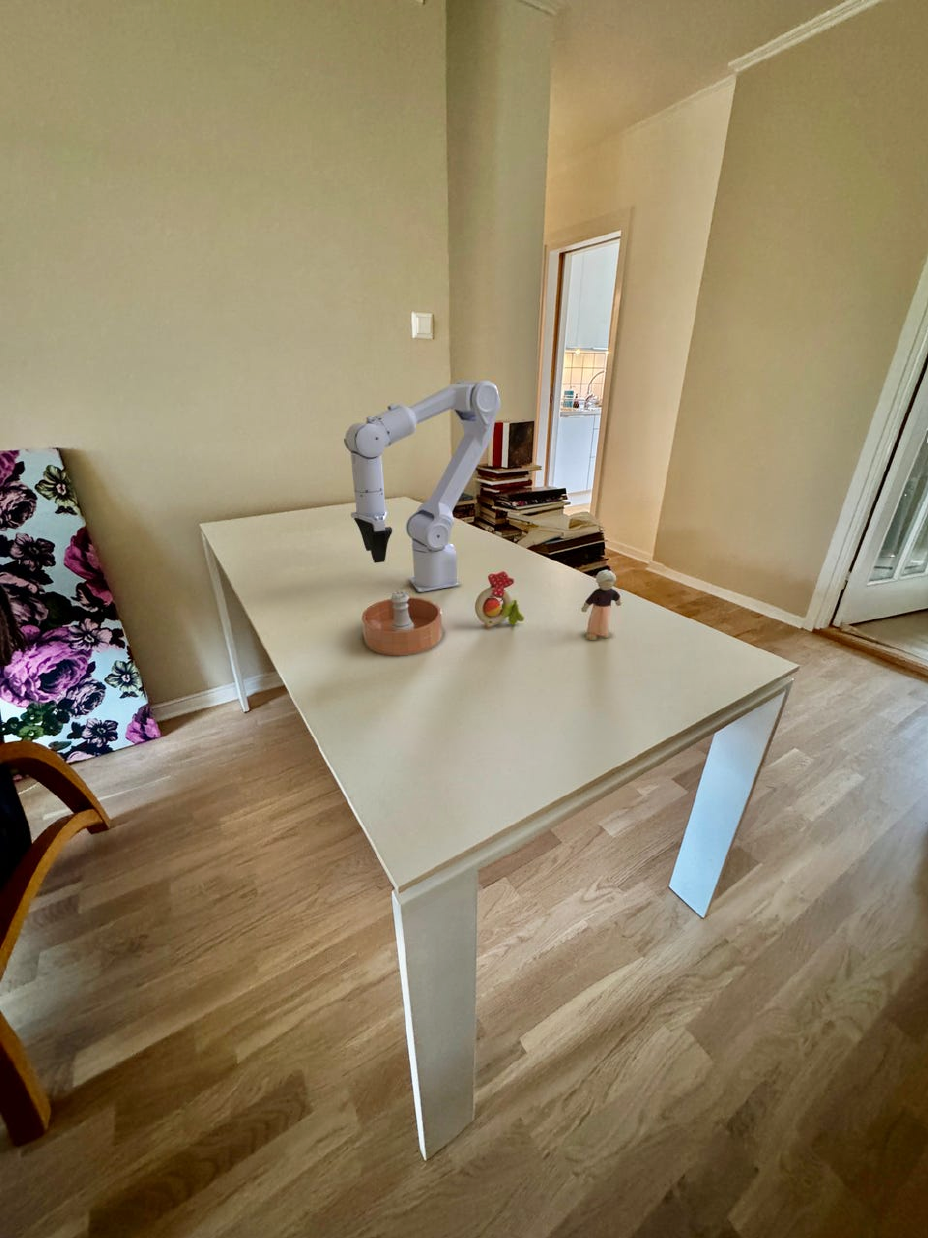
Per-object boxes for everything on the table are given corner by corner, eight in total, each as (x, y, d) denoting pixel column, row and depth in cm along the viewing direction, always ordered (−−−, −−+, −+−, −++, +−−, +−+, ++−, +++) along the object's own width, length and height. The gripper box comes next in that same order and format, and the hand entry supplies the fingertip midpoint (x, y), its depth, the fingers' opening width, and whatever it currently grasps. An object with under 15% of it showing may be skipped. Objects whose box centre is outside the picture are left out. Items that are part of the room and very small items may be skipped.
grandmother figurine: (589, 644, 84) (597, 578, 79) (575, 635, 87) (582, 570, 82) (622, 634, 88) (632, 569, 82) (607, 625, 91) (616, 562, 85)
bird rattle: (496, 644, 89) (535, 617, 91) (474, 599, 83) (516, 571, 85) (481, 629, 94) (517, 604, 96) (459, 586, 88) (498, 560, 90)
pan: (428, 612, 97) (427, 592, 95) (452, 645, 85) (452, 623, 83) (358, 625, 92) (355, 604, 90) (373, 662, 81) (370, 639, 78)
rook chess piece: (419, 631, 89) (417, 591, 85) (404, 641, 86) (401, 600, 82) (401, 625, 91) (397, 586, 87) (385, 635, 88) (381, 595, 84)
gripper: (342, 484, 98) (349, 547, 104) (355, 499, 86) (362, 569, 92) (376, 481, 101) (381, 543, 107) (393, 495, 89) (398, 564, 95)
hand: (375, 555), depth 100 cm, fingers open, 7 cm apart
